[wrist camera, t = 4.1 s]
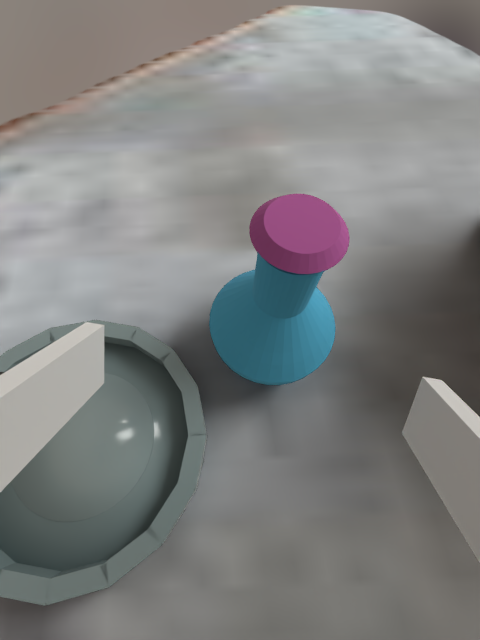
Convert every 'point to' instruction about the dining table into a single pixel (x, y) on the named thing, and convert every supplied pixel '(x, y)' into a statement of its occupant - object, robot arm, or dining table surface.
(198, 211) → the dining table surface
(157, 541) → the round dish
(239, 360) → the perfume bottle
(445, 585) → the dining table surface
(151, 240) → the dining table surface
